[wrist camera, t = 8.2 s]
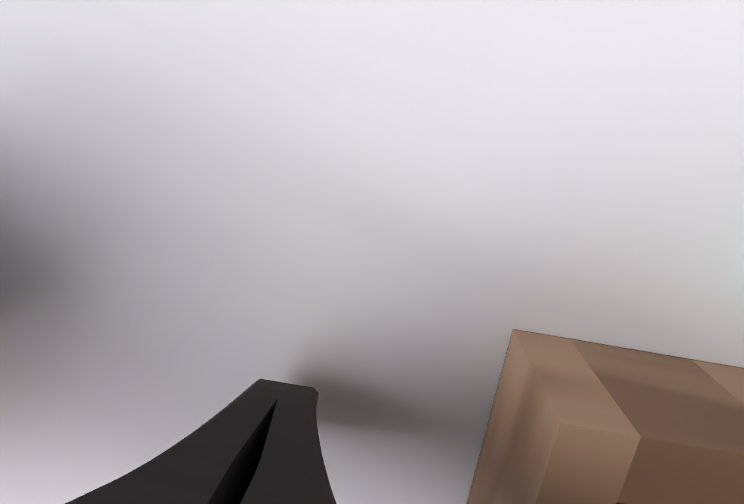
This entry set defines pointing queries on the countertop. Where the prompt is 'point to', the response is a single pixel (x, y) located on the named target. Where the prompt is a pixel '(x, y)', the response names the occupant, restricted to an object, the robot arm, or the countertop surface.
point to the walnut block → (610, 428)
